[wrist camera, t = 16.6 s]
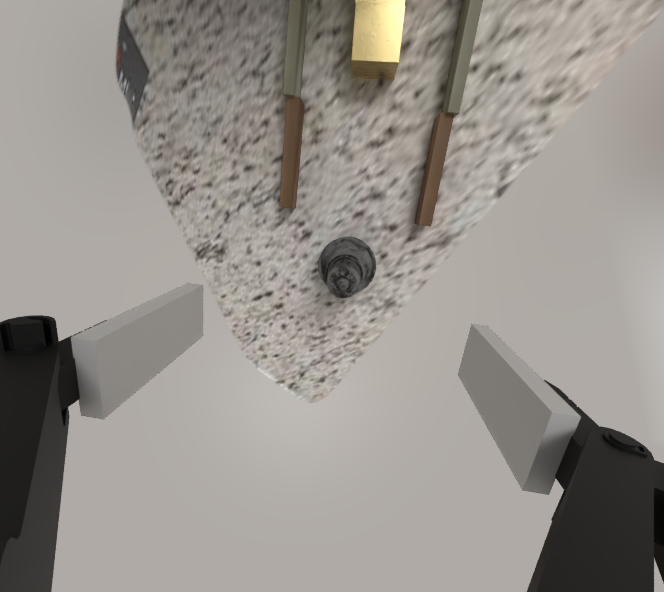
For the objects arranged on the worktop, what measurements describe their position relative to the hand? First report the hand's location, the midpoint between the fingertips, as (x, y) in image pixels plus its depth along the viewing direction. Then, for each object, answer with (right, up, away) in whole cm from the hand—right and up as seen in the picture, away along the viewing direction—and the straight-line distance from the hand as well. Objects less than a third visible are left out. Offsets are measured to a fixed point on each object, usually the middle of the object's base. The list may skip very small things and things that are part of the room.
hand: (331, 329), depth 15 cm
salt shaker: (+2, +6, +20) cm, 21 cm away
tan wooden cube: (+4, +25, +15) cm, 29 cm away
